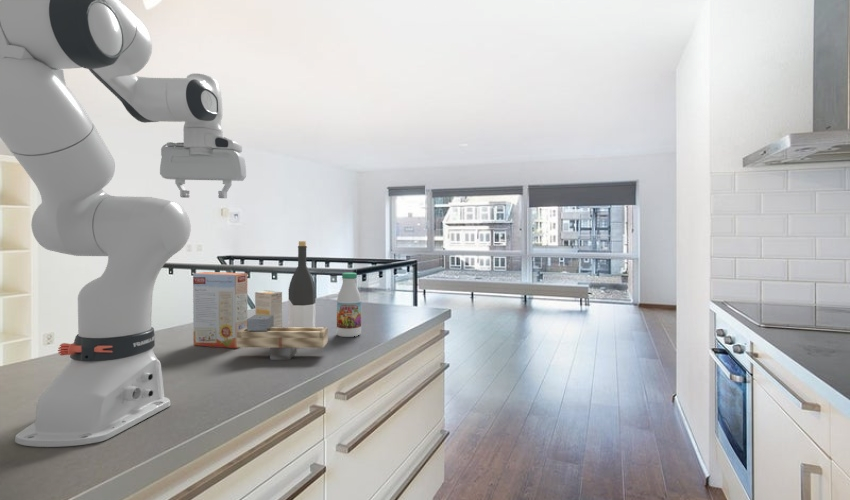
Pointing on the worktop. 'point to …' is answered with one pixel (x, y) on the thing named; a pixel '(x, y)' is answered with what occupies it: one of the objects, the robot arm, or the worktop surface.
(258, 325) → the block
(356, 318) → the milk bottle
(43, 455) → the worktop surface
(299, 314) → the wine bottle
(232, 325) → the cracker box
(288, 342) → the beam
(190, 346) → the worktop surface
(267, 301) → the supplement box
